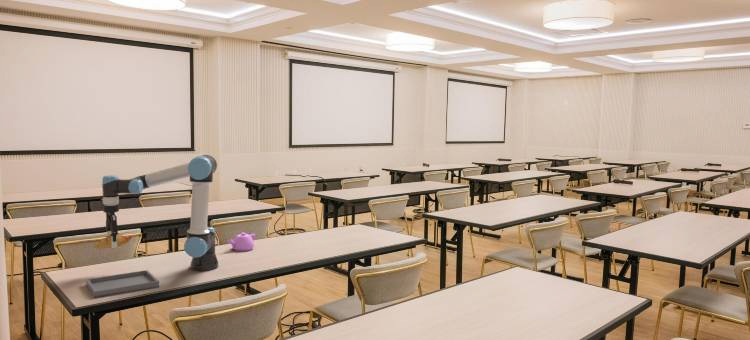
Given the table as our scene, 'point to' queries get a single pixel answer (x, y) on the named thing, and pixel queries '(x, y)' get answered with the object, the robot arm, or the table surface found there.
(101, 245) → the croissant
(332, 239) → the table surface
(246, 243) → the teapot
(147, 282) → the serving tray
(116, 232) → the robot arm
